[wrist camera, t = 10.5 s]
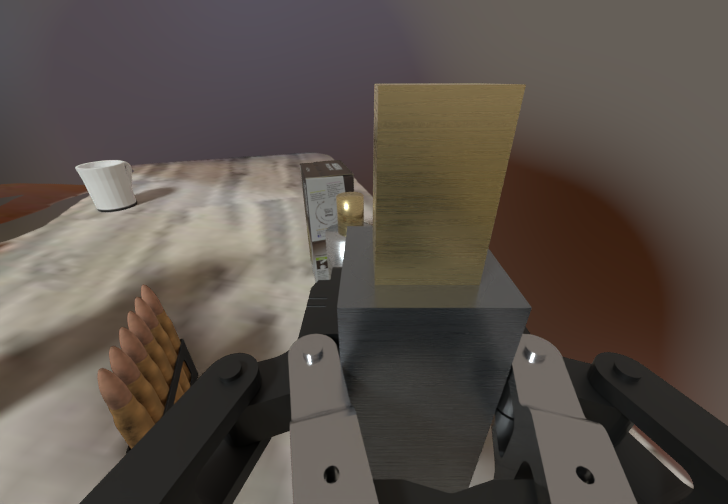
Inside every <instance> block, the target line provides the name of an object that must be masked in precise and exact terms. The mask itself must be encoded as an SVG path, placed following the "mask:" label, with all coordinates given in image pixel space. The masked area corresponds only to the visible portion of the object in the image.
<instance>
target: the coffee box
mask: <svg viewBox="0 0 728 504" xmlns="http://www.w3.org/2000/svg"><path fill="white" fill-rule="evenodd" d="M300 170H301V179H302V188H303V197H304V206H305V215H306V223H307V232H308V240H309V248H310V257H311V262H312V267H313V272H314V276H315V281H316V282H317V281H318V280H329V274H328V261H327V249H326V236H325V231H326V229H327V228H328V227H330V226H331V225H334V224H336V223H338V220H337V202H336V196H337V195H338V194H340V193H343V192H354V179H353V176H354V174H353V173H352V172H351V171H350V170H349V169H348V168H347V167H346V166H345V165H344V164H343V163H342V162H341V161H340V160H334V161H322V162H314V163H301V164H300Z"/></svg>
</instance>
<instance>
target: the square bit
mask: <svg viewBox="0 0 728 504" xmlns="http://www.w3.org/2000/svg"><path fill="white" fill-rule="evenodd" d="M525 86H526V85H519V84H518V85H517V84H479V83H477V84H474V83H472V84H375V86H374V89H375V90H374V93H375V94H374V166H373V168H374V170H373V171H374V172H373V226H347V232H346V240H345V248H344V256H343V264H342V272H341V280H340V288H339V296H338V304H337V316H338V332H339V348H340V365H341V366H342V371H343V375H344V379H345V383H346V387H347V391H348V395H349V400H350V403H351V406H352V405H353V406H354V409H355V412H356V415H357V419H358V423H359V427H360V431H361V435H362V439H363V443H364V447H365V451H366V455H367V459H368V463H369V467H370V471H371V475H372V479H404V480H407V481H410V482H414V483H417V484H420V485H424V486H427V487H430V488H433V489H437V490H440V491H443V492H447V493H455V492H459V491H462V490H464V489H467V488H469V485H470V482H471V479H472V476H473V474H474V471H475V468H476V465H477V462H478V459H479V456H480V454H481V451H482V448H483V445H484V442H485V439H486V437H487V434H488V431H489V428H490V425H491V422H492V419H493V417H494V414H495V411H496V408H497V405H498V402H499V400H500V397H501V394H502V391H503V388H504V385H505V382H506V380H507V377H508V374H509V371H510V368H511V365H512V362H513V360H514V357H515V354H516V351H517V348H518V345H519V343H520V340H521V337H522V334H523V331H524V328H525V325H526V323H527V320H528V317H529V314H530V311H531V306H530V305H529V303H528V302H527V301H526V299H525V298H524V297H523V295H522V294H521V293H520V291H519V290H518V288H517V287H516V286H515V284H514V283H513V282H512V280H511V279H510V278H509V276H508V275H507V273H506V272H505V271H504V269H503V268H502V267H501V265H500V264H499V263H498V261H497V260H496V259H495V257H494V256H493V254H492V253H491V252H490V250H489V249H488V247H489V243H490V238H491V234H492V229H493V225H494V221H495V216H496V212H497V208H498V203H499V199H500V194H501V190H502V186H503V182H504V177H505V173H506V168H507V164H508V160H509V155H510V151H511V147H512V142H513V138H514V134H515V129H516V125H517V120H518V116H519V112H520V108H521V103H522V99H523V94H524V90H525Z"/></svg>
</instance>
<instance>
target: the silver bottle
mask: <svg viewBox="0 0 728 504" xmlns="http://www.w3.org/2000/svg"><path fill="white" fill-rule="evenodd" d="M336 202H337V220H338V223H336V224H334V225H331V226H330V227H328V228H327V229H326V231H325V236H326V249H327V261H328V274H329V280H330V279H331V273H332V268H333V267H342V264H343V256H344V248H345V240H346V232H347V226H372V225H370V224H368V223H364V202H363V194H361V193H358V192H343V193H340V194H338V195H337V196H336Z"/></svg>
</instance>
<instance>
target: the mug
mask: <svg viewBox="0 0 728 504" xmlns="http://www.w3.org/2000/svg"><path fill="white" fill-rule="evenodd" d="M124 164H125V165H126V168H127V173H126V170H125V166H124ZM75 168H76V170H77V172H78V173H79V175H80V177H81V178H82V180H83V182H84V184H85V186H86V188H87V190H88V192H89V194H90V196H91V198H92V200H93V202H94V204H95V206H96V208H97V209H98V210H99V211H101V212H114V211H120V210H124V209H128V208H130V207H133V206H135V205H136V204H137V201H136V198H135V195H134V193H133V190H132V171H131V166H130V164H128V163H127V162H123V161H119V160H107V161H97V162H90V163H86V164H81V165H78V166H76V167H75Z"/></svg>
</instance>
